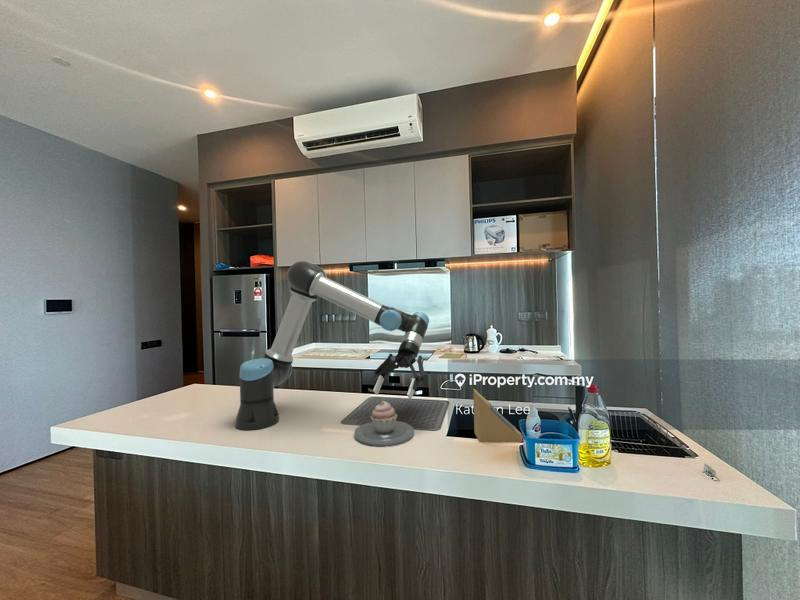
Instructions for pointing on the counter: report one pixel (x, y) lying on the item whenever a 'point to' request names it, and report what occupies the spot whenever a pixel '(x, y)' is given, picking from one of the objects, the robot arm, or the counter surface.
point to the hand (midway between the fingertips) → (391, 395)
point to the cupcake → (384, 418)
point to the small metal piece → (709, 471)
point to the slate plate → (384, 435)
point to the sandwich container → (492, 423)
